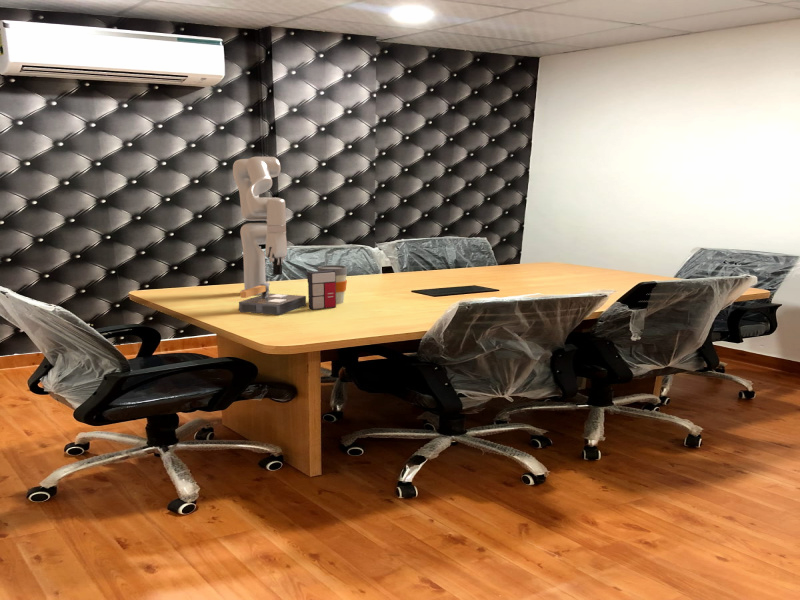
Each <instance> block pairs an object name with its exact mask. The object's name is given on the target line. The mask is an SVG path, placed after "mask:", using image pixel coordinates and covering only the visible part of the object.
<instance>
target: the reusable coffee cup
mask: <svg viewBox="0 0 800 600" xmlns="http://www.w3.org/2000/svg"><path fill="white" fill-rule="evenodd" d="M326 270H332V271H335V272H336V305H339V304H340V305H341V304H343V303H344V300H345V292H346V290H347V283H348V281H347V275H348V267H347V266H345V265H340V264H339V265H334V264H333V265H332V264H331V265H321V266H318V267H317V271H326Z"/></svg>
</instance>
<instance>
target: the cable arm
mask: <svg viewBox="0 0 800 600" xmlns="http://www.w3.org/2000/svg"><path fill="white" fill-rule="evenodd" d="M243 290H244V289H243ZM265 291H269V292H270V285H269V284H267V283H263V284H260V286H257V287H253V288H250V289H247V290H244V291H242V290H240V299H241V298H242V299H243V298H244V299H247V298H250V297H253V296H257V295H256V294H259V293H262V292H265Z"/></svg>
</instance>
